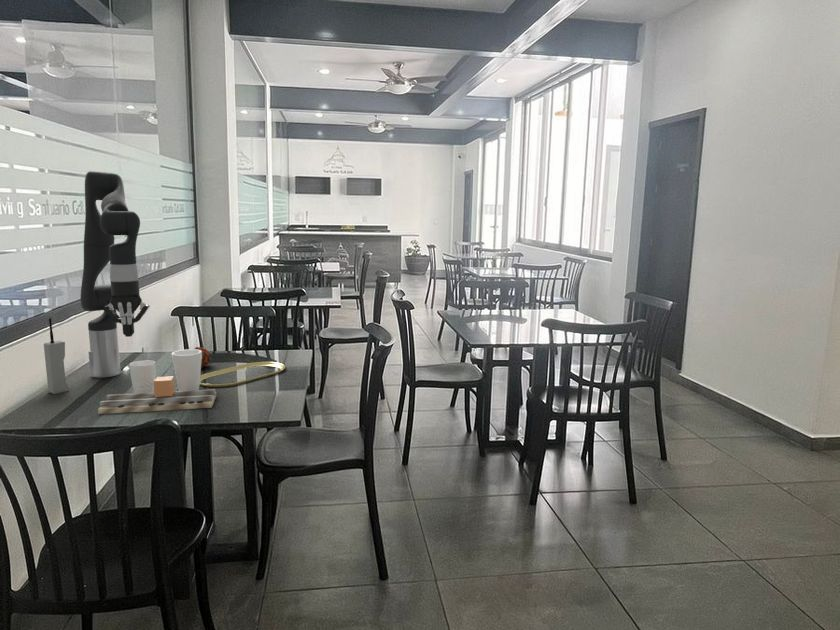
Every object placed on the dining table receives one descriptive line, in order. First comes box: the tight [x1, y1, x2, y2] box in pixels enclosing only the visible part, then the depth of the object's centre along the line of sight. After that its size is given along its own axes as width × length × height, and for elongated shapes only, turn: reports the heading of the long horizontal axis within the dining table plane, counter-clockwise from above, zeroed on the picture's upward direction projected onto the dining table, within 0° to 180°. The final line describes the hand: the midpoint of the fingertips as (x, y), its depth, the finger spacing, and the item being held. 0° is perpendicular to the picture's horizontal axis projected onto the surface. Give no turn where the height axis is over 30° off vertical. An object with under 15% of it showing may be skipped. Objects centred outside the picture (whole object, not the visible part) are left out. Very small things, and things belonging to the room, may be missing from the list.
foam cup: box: [171, 348, 202, 391], centre depth 201 cm, size 10×9×13 cm
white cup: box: [128, 359, 157, 393], centre depth 199 cm, size 8×8×10 cm
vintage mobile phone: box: [43, 317, 70, 395], centre depth 198 cm, size 4×5×25 cm
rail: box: [97, 388, 217, 415], centre depth 186 cm, size 32×12×3 cm, turn 101°
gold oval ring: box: [199, 361, 286, 388], centre depth 221 cm, size 19×35×2 cm, turn 145°
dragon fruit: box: [194, 346, 212, 369], centre depth 232 cm, size 8×8×12 cm
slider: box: [154, 375, 176, 398], centre depth 186 cm, size 5×5×7 cm
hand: (128, 336), depth 181 cm, fingers closed
